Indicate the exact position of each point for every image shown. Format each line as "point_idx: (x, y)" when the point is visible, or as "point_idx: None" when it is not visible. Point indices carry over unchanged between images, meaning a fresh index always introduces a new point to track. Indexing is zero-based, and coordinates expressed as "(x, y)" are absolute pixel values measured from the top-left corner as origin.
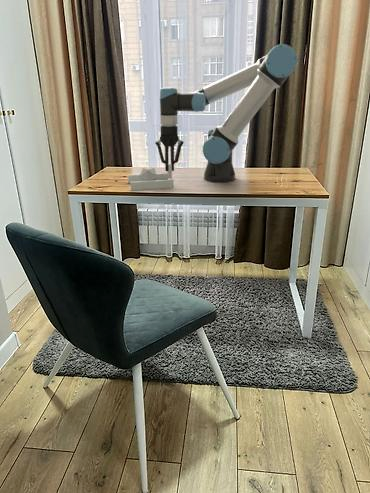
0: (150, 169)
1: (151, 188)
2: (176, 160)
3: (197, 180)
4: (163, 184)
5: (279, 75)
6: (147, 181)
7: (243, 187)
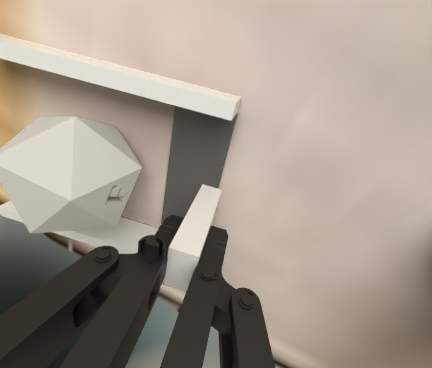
0: (47, 224)
1: None
2: (227, 340)
3: (401, 206)
4: None
5: None
6: (72, 238)
7: None
